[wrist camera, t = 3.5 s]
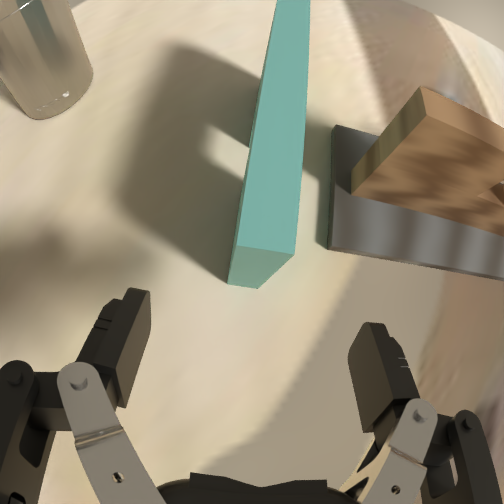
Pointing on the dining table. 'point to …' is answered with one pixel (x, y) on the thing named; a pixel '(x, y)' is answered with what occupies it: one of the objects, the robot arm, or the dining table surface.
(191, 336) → the dining table surface
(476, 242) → the halving stand
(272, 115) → the teal plate
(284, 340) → the dining table surface
